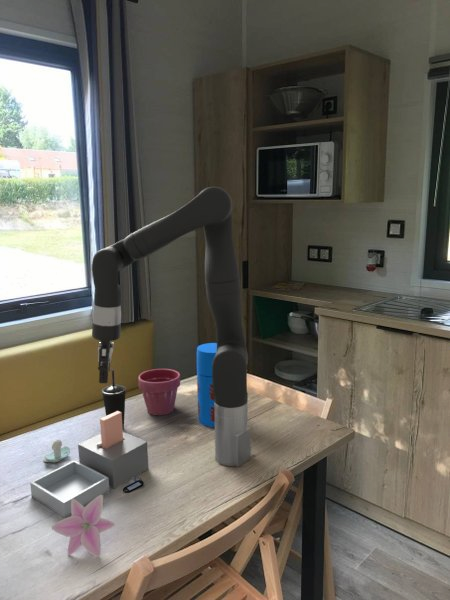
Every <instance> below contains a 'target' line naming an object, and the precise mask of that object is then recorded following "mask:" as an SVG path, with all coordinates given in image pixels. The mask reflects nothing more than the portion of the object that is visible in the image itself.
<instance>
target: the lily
mask: <svg viewBox="0 0 450 600" xmlns="http://www.w3.org/2000/svg"><path fill="white" fill-rule="evenodd" d="M103 504H104V495H99V496H98V497H96V498H95V499H94V500H92V501H91V502H90V503H89V504H88V505H87V506H85V507H83V506H82V505H81V504H80V503H79V502H78V501H76V500H75V499H72V500H71V513H72V515H70V516H69V517H67V518H63V519H61V520H59V521H57V522H55V523H54V524H52V525H51V526H50V527H51V530H52V531H54V532H55V533H58V534H60V535H62V536H65V537H68V538H69V541H68V545H67V556H70V555H71V556H72V554H74V553H75V552H76V551H77V550H78V549H80V547H81V546H82V547H83V549H85V550H86V551H87V552H88V553H90V554H91V555H93V556H94V557H96V558H100V557H101V554H102V553H101V535H100V534H102V533H104V532H106V531H108V530H110V529H112V528H113V527H115V525H116V524H115V522H112V521H111V520H109V519H106V518H103V517H102V511H103Z"/></svg>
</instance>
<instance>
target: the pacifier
mask: <svg viewBox="0 0 450 600" xmlns="http://www.w3.org/2000/svg"><path fill="white" fill-rule="evenodd" d="M62 446H63V442H62V440H60V439H57V440H55V441H54V442H53V443H52V445H51V450H52V452H50V453H48V454H45V455H44V457H43V462H44V463H58V462H60V461H63V459H65V458H66V457H68V456H69V455H70V453H71V448H70V447H69V446H64V447H62Z"/></svg>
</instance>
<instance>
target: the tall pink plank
mask: <svg viewBox="0 0 450 600" xmlns="http://www.w3.org/2000/svg"><path fill="white" fill-rule="evenodd" d="M99 425H100V434H101V442H102V448H103V449H105V450H106V449H107V448H109V447H111V446H113V445H115V444H117V443H119V442H121V441H123V432H124V430H123V428H122V412H119V411H116V412H114V413H112V414H109V415H107V416H106V415H105V416H103V417H101V418H99Z"/></svg>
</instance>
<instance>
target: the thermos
mask: <svg viewBox="0 0 450 600" xmlns="http://www.w3.org/2000/svg"><path fill="white" fill-rule="evenodd" d="M216 351H217V342H210V343H209V342H208V343H203V344H200V345H198V346H197V348H196V374H197V375H196V381H197V382H196V385H197V413H198V422H199V424H201V425H203V426H205V427H209V428H215V408H214V394H213V380H212V363H213V359H214V357H215V354H216Z"/></svg>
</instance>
